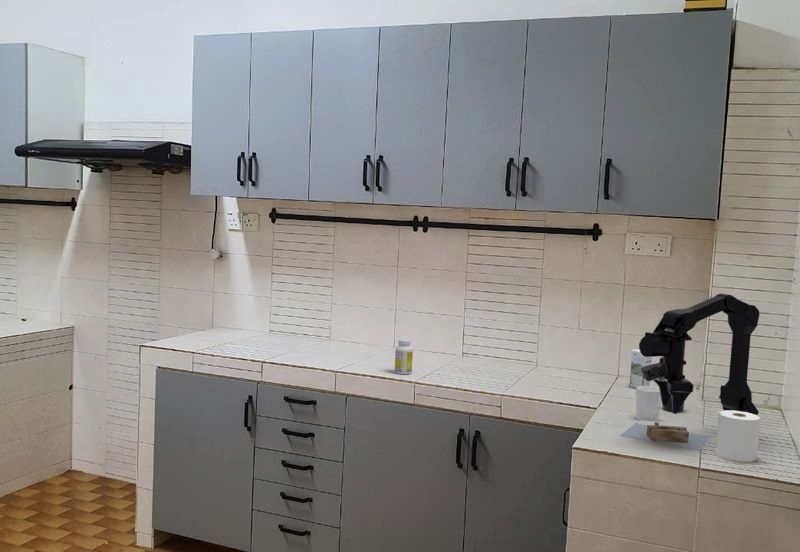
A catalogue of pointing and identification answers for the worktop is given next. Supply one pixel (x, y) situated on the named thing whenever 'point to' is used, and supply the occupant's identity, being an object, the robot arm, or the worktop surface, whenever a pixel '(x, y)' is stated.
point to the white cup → (647, 403)
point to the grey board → (641, 433)
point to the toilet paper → (737, 435)
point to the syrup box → (638, 369)
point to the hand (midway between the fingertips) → (669, 409)
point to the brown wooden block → (667, 433)
